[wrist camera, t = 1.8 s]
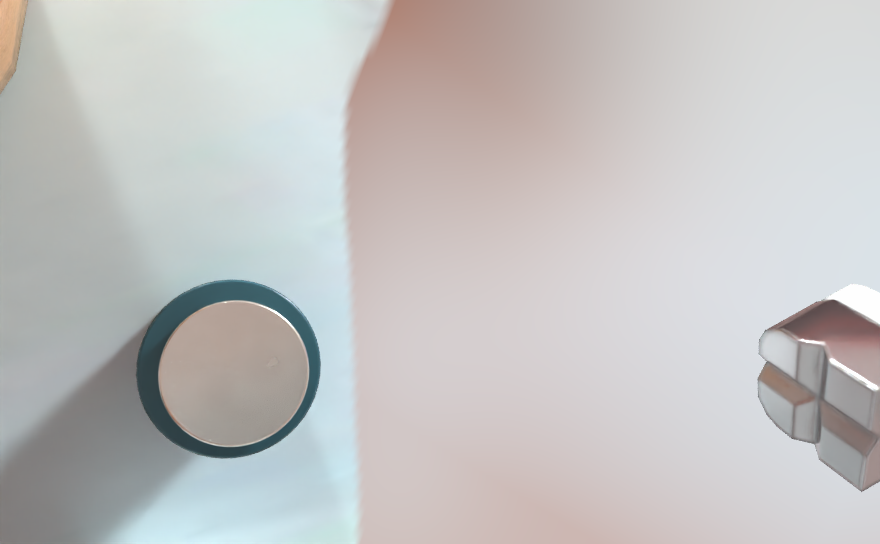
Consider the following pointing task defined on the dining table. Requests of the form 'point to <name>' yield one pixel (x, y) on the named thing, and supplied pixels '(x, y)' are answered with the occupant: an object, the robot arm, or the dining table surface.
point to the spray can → (228, 369)
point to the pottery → (10, 37)
